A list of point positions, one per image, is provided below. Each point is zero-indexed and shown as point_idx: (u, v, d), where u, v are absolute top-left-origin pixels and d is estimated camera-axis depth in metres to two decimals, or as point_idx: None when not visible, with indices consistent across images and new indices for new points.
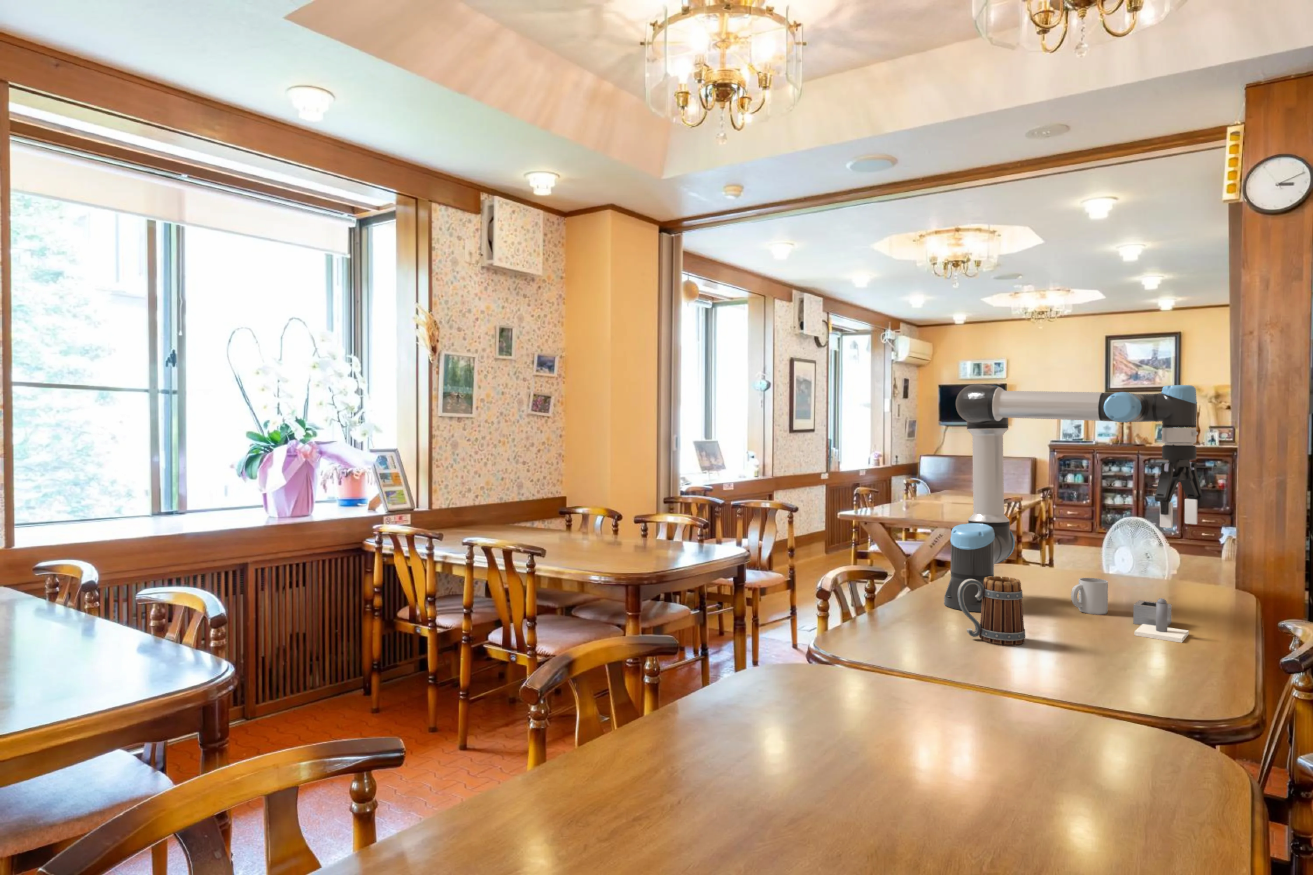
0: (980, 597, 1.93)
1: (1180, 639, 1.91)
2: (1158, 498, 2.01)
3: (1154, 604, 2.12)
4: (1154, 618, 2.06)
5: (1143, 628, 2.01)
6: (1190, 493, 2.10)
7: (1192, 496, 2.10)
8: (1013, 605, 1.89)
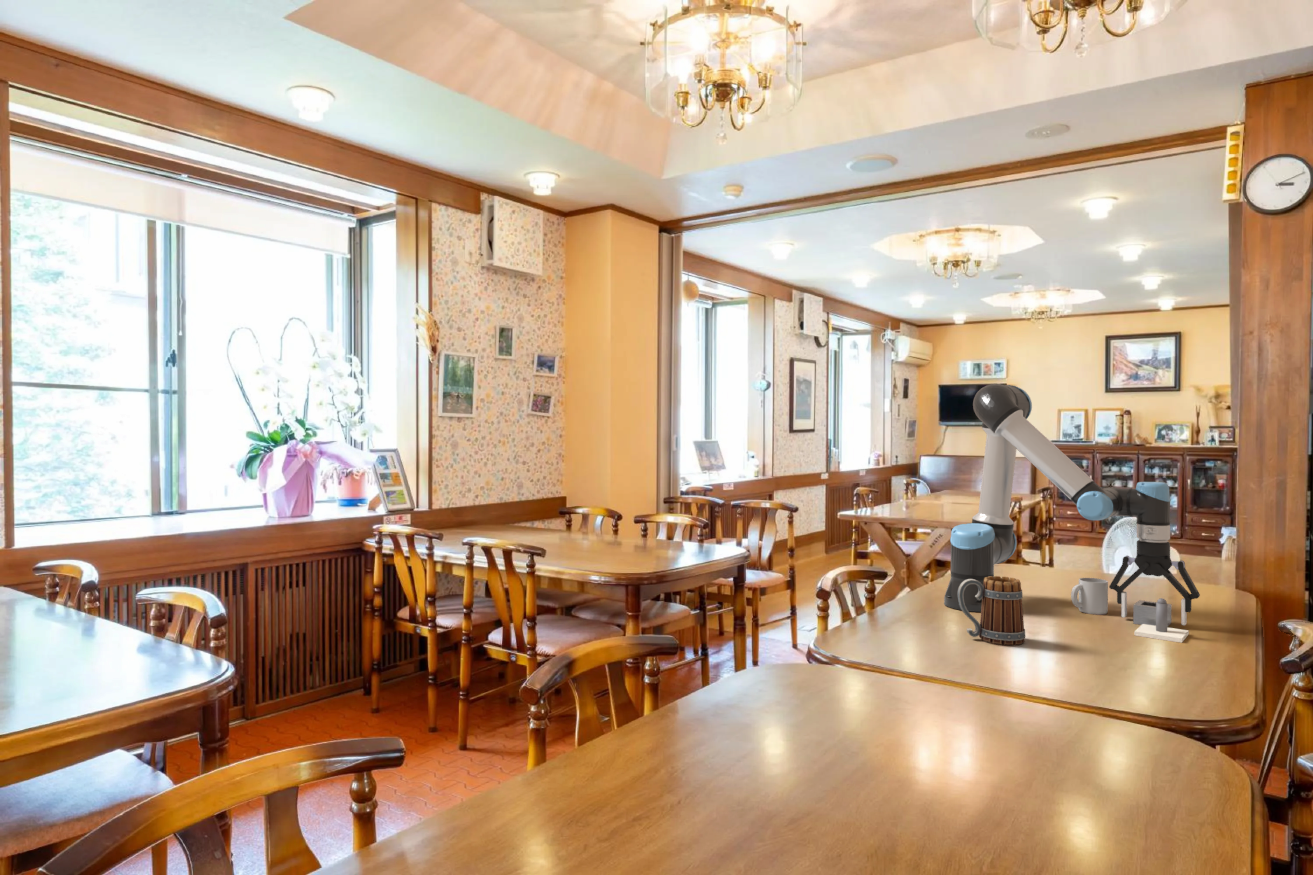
0: (980, 597, 1.93)
1: (1180, 639, 1.91)
2: None
3: (1154, 604, 2.12)
4: (1154, 618, 2.06)
5: (1143, 628, 2.01)
6: None
7: None
8: (1013, 605, 1.89)
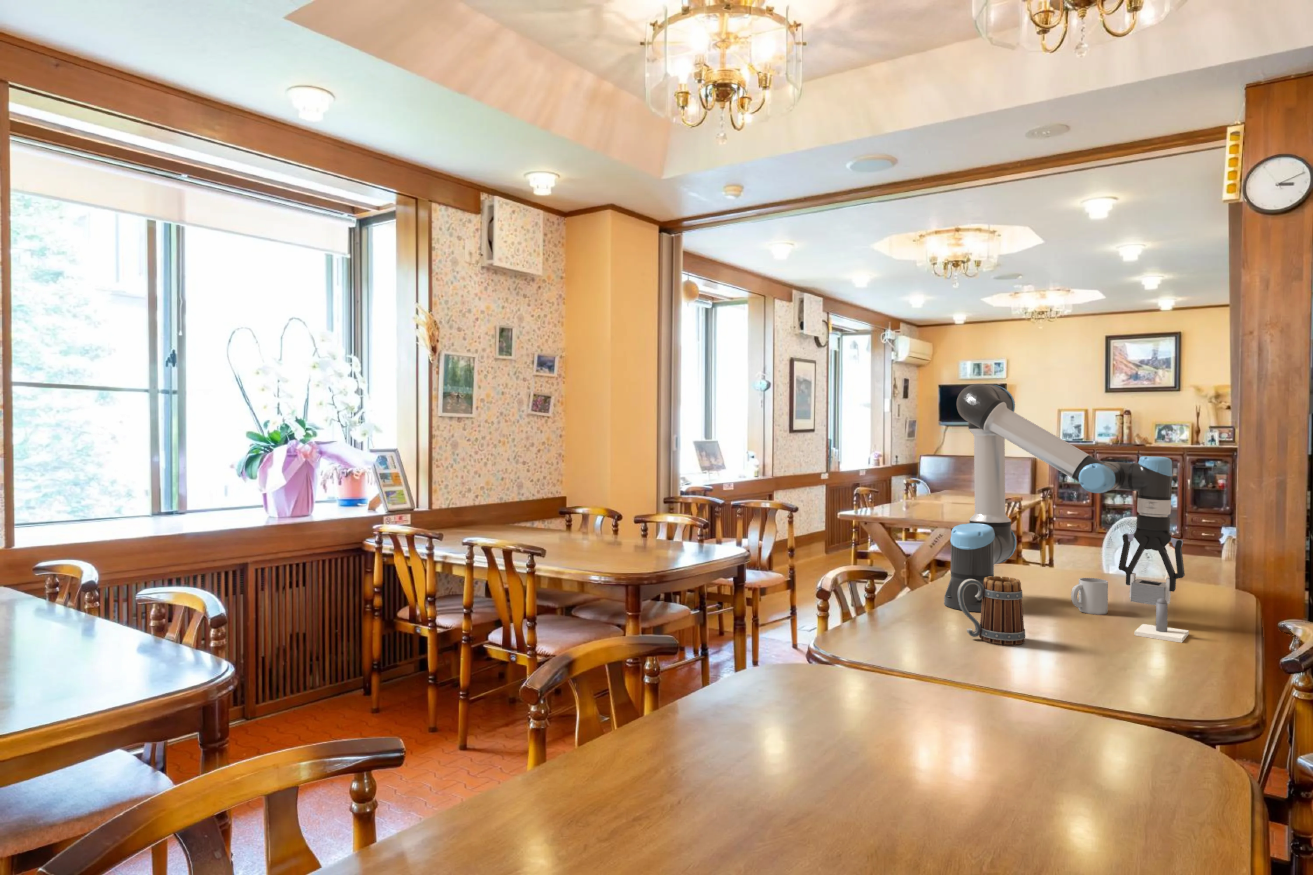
0: (980, 597, 1.93)
1: (1180, 639, 1.91)
2: None
3: (1152, 583, 2.12)
4: (1152, 596, 2.07)
5: (1143, 628, 2.01)
6: None
7: None
8: (1013, 605, 1.89)
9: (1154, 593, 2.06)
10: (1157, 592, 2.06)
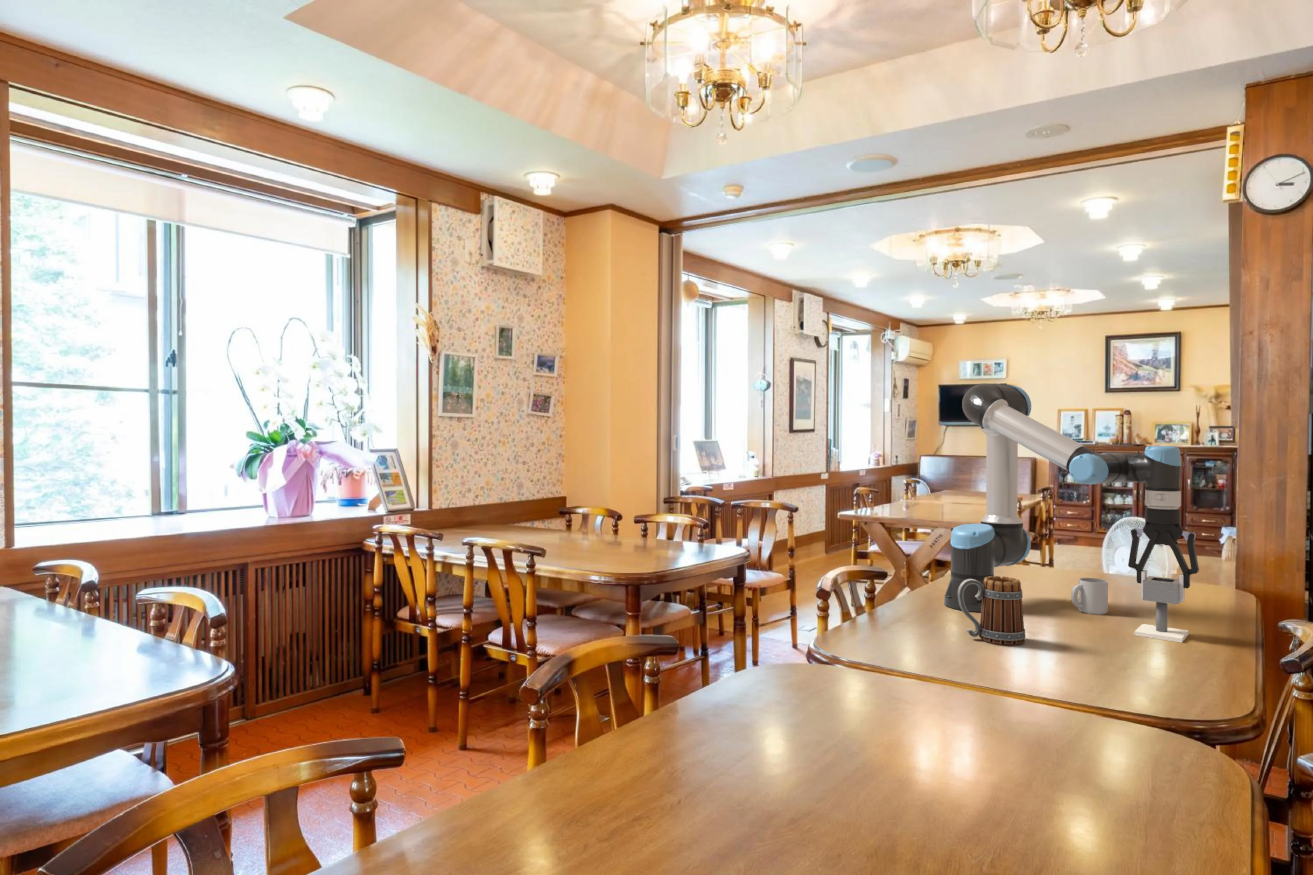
0: (980, 597, 1.93)
1: (1180, 639, 1.91)
2: None
3: (1164, 580, 2.00)
4: (1165, 594, 1.94)
5: (1143, 628, 2.01)
6: None
7: None
8: (1013, 605, 1.89)
9: (1167, 590, 1.94)
10: (1171, 589, 1.94)
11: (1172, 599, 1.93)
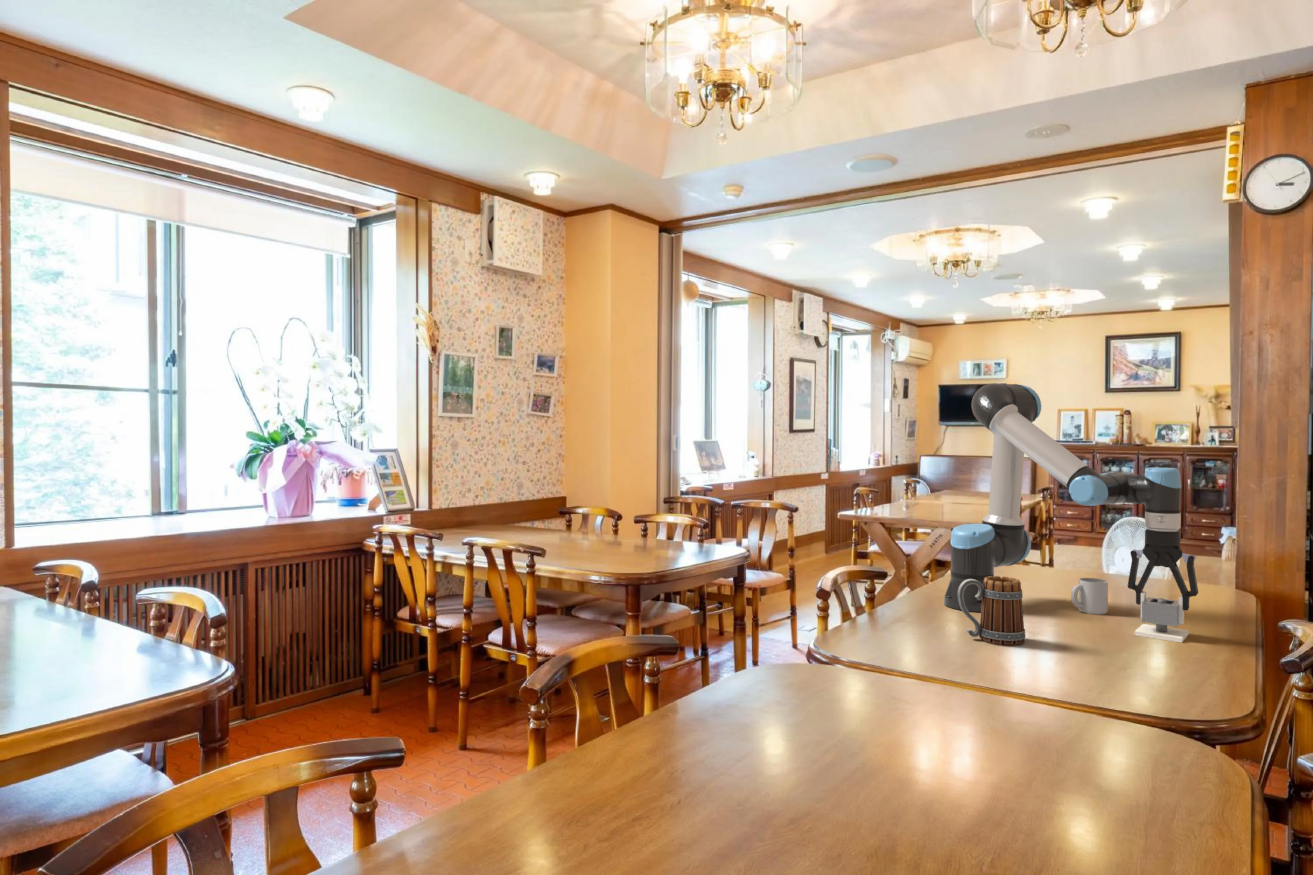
0: (980, 597, 1.93)
1: (1180, 639, 1.91)
2: None
3: None
4: (1164, 616, 1.95)
5: (1143, 628, 2.01)
6: None
7: None
8: (1013, 605, 1.89)
9: (1167, 612, 1.94)
10: (1170, 611, 1.94)
11: (1171, 621, 1.94)
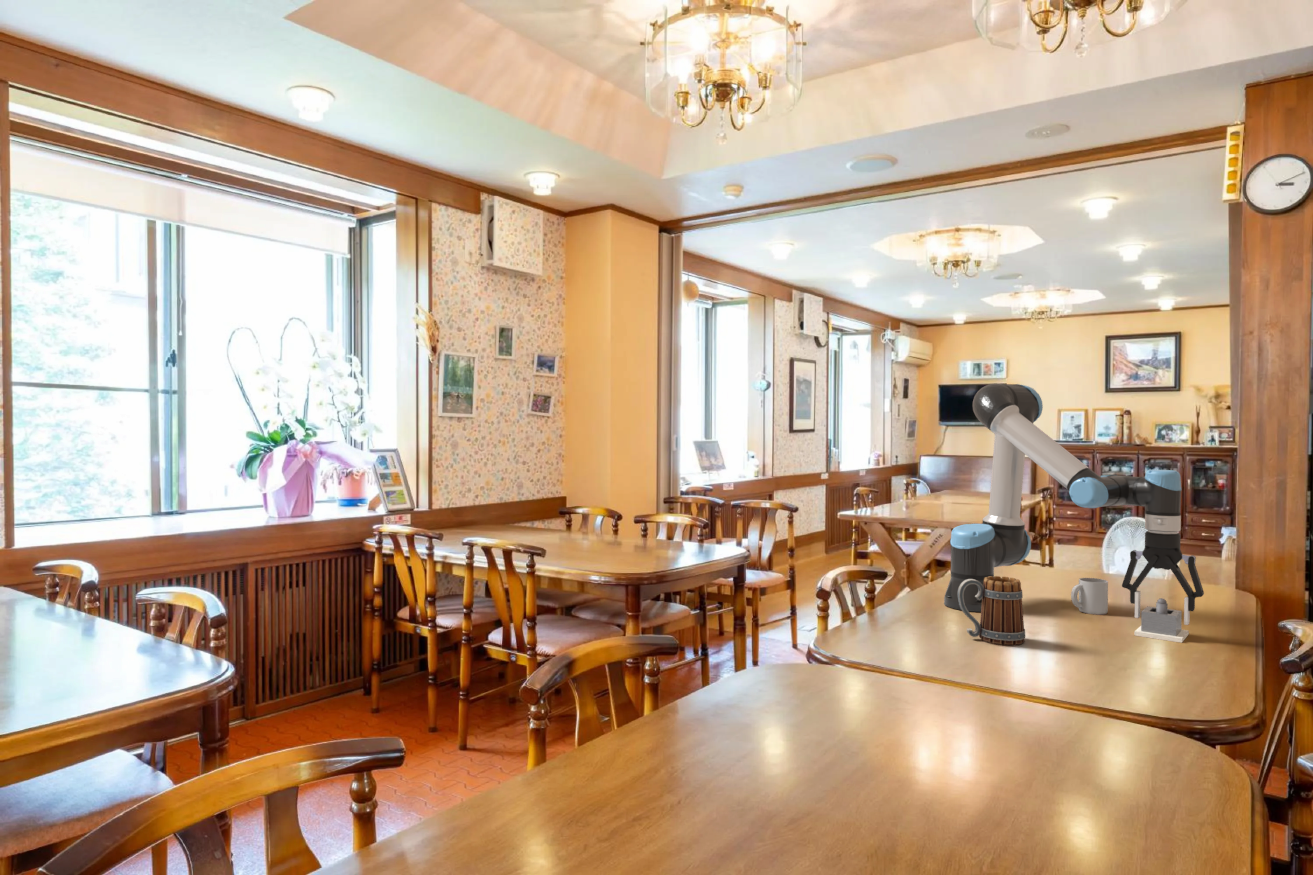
0: (980, 597, 1.93)
1: (1180, 639, 1.91)
2: None
3: None
4: (1163, 625, 1.95)
5: None
6: None
7: None
8: (1013, 605, 1.89)
9: (1166, 622, 1.94)
10: (1169, 621, 1.94)
11: (1170, 631, 1.94)
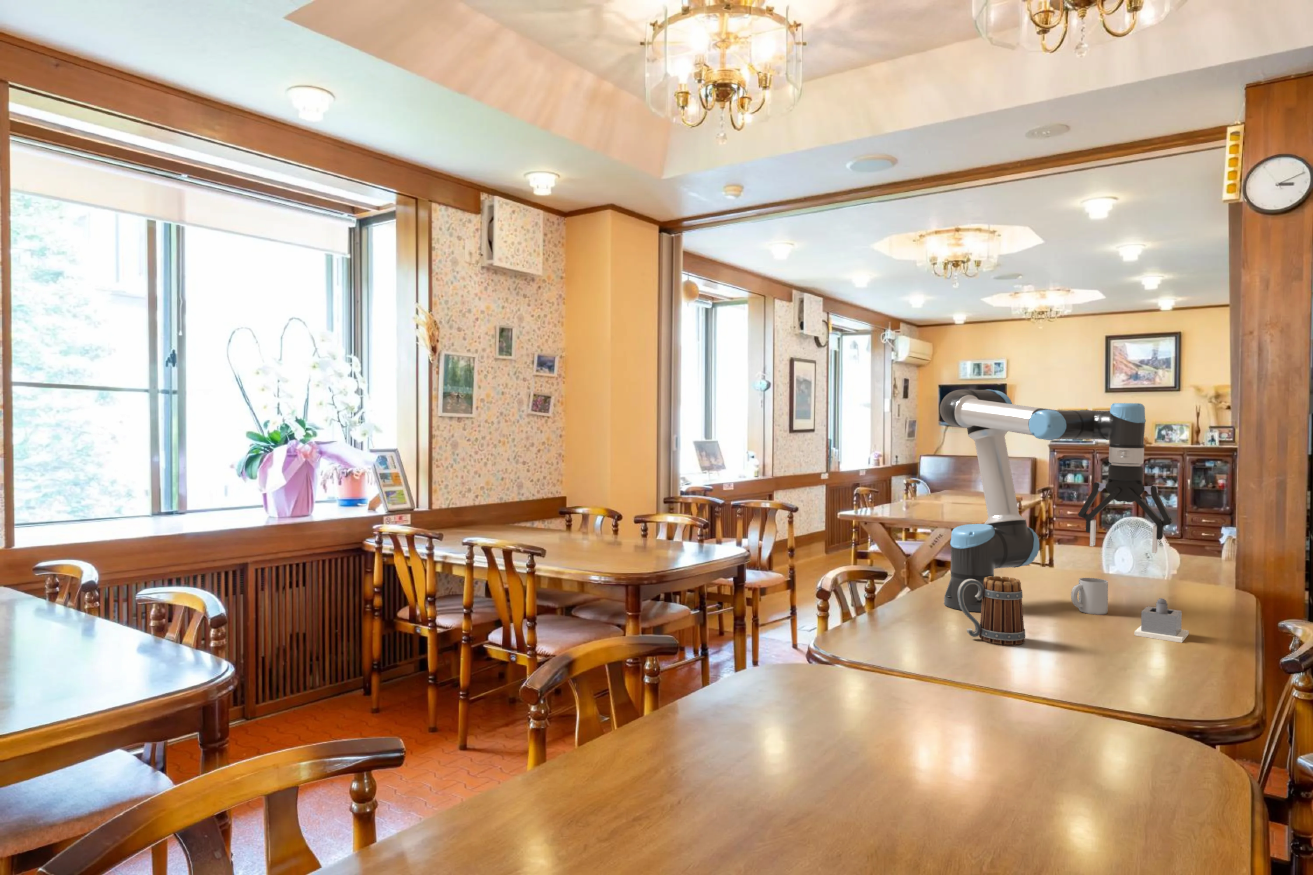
0: (980, 597, 1.93)
1: (1180, 639, 1.91)
2: None
3: None
4: (1163, 625, 1.95)
5: None
6: None
7: None
8: (1013, 605, 1.89)
9: (1166, 622, 1.94)
10: (1169, 621, 1.94)
11: (1170, 631, 1.94)
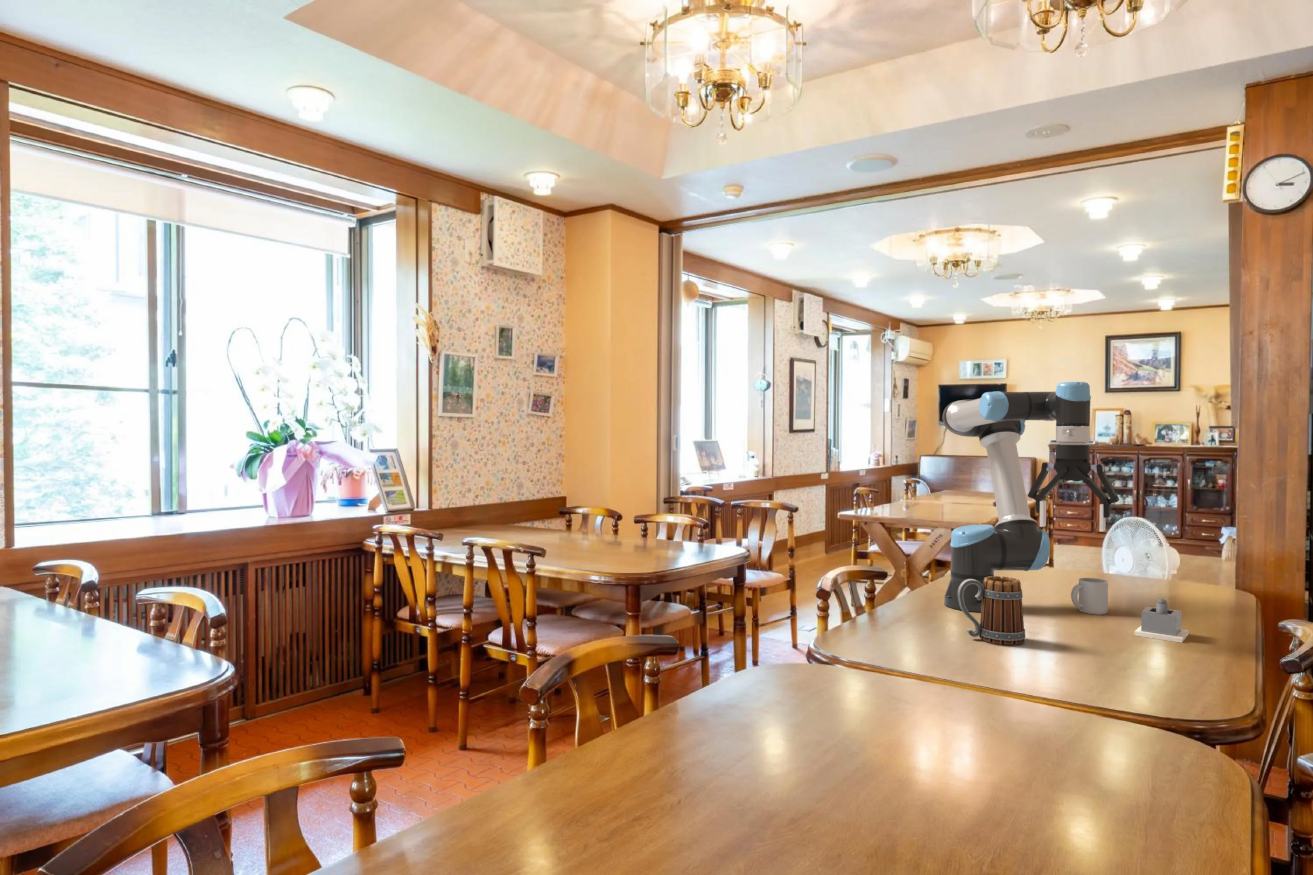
0: (980, 597, 1.93)
1: (1180, 639, 1.91)
2: None
3: None
4: (1163, 625, 1.95)
5: None
6: None
7: None
8: (1013, 605, 1.89)
9: (1166, 622, 1.94)
10: (1169, 621, 1.94)
11: (1170, 631, 1.94)
